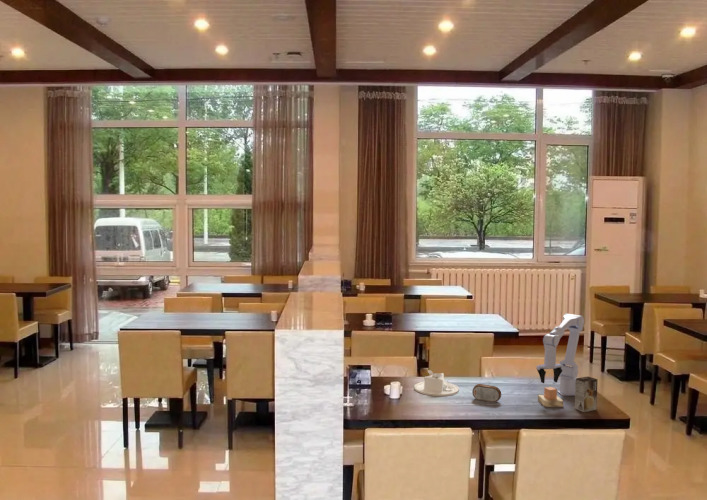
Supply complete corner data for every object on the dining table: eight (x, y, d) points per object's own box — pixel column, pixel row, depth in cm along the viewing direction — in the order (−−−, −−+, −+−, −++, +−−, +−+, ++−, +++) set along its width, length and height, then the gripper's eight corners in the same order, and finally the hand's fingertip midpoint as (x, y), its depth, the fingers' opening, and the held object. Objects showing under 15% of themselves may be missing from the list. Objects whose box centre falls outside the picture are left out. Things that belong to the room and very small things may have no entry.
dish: (448, 399, 343) (449, 378, 342) (406, 391, 356) (407, 371, 355) (465, 388, 364) (466, 368, 363) (425, 380, 377) (426, 361, 376)
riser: (556, 400, 344) (556, 395, 344) (563, 406, 334) (563, 401, 334) (537, 400, 344) (538, 394, 343) (544, 406, 334) (544, 400, 333)
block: (551, 396, 342) (551, 386, 341) (556, 398, 338) (557, 389, 337) (544, 396, 340) (544, 387, 340) (549, 399, 336) (549, 390, 336)
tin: (501, 402, 340) (501, 386, 339) (499, 404, 337) (500, 388, 336) (473, 398, 346) (473, 382, 345) (471, 399, 343) (472, 384, 342)
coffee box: (586, 406, 336) (588, 376, 334) (596, 410, 330) (598, 379, 328) (574, 408, 331) (575, 378, 330) (583, 412, 326) (585, 381, 324)
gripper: (558, 354, 346) (557, 379, 347) (533, 355, 342) (532, 380, 344) (565, 357, 339) (564, 383, 340) (540, 359, 336) (539, 384, 337)
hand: (549, 382), depth 342 cm, fingers open, 7 cm apart
